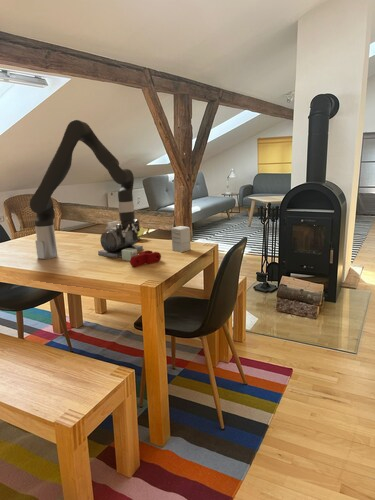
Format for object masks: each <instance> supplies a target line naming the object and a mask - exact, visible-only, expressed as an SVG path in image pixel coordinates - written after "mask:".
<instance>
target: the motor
mask: <svg viewBox="0 0 375 500" xmlns="http://www.w3.org/2000/svg"><path fill="white" fill-rule="evenodd" d="M116 224H120V220H114V221H110V222H106V227H105V228H104V229H105V230H107V231H105V232H103V233H102V234H101V236H100V244H101V247H102V249H101V250H98V251H97V254H98V255H99V256H102V257H108V258H115V259H119V258H122V250H123V249H127V248H131V249H137V252H139V251H142V250H144V248H143V247H144V246H143V245H138V244H137V242H138V240H136V241H134V240H133V235H132V233H133V232H132V231H131V230H129V231H127V233H126V234H125V236H124V237H125V244H121V240H120V237H119V236H117V232H116ZM123 231H124V230H123ZM122 235H123V234H122ZM137 239H138V236H137Z"/></svg>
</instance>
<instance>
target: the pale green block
mask: <svg viewBox="0 0 375 500" xmlns="http://www.w3.org/2000/svg"><path fill="white" fill-rule="evenodd" d="M136 255H138V251H137V249H131V248H127V249H123V250H122V257H121V260H122V261H128V262H130V260H131V258H132V257H133V256H136Z"/></svg>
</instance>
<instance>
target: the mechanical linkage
mask: <svg viewBox="0 0 375 500" xmlns="http://www.w3.org/2000/svg"><path fill="white" fill-rule="evenodd" d="M161 259H162V255H161V253H160V252H158V251H154V252H153V250H148V249H147V250H144V251H141V252H138V254H137V255H136V256H133V257H132V258H131V260H130V261H129V262H130V264H129V265H130V266H131V267H134V268H137V267H140V266H143V265H153V264H156V263H158V262H160V261H161Z"/></svg>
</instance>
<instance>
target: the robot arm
mask: <svg viewBox="0 0 375 500" xmlns="http://www.w3.org/2000/svg"><path fill="white" fill-rule="evenodd" d="M79 141H80V142H82V143H83V144H85V145H86V146H87V147H88V148H89V149H90V150H91V151H92V153H93V154H94V156H95V158H96V159H97V161H98V162H99V163H100V164H101V165H102V166H103V167H104V168H105V169H106V170H107V172H108V173H109V175H110V177H111V178H112V180H113V181H114V183H116V184H118V185H120V188H119V190H118V191H117V198H118V214H119V215H118V218H119V222H120V223H119V224H116V232H117V236H119V237H120V240H121V244H125V237H124V236H125V234H126V233H127V231H129V230H131V231H132V232H133V233H132V235H133V240H134V241H136V240H137V232H138V231H140V228H141V227H140V223H139V222H140V221H139V220H138V219H135V218H136V214H135V205H134V204H135V203H134V196H133V189H134V182H135V177H134V174H133V172H132V170H131V169H129V168H121V166H120V161H119V160H118V159H117V157H116V156H115V155H114V154H112V152H111V151H110V150H109V149H108V148H107V147H106V146H105V145H104V144H103V143H102V141H101V140H100V139H99V138H98V136H97V135H96V133H95V132H94V131H93V129H92V128H91V126H90V125H89V124H88V123H87V122H84V121H82V120H79V119H73V120H71V121H69V123H68V124H67V126H66V129H65V132H64V134H63V136H62V139H61V142H60V144H59V146H58V147H57V150H56V151H55V154H54V155H53V157H52V159H51V161H50V163H49V165H48V167H47V169H46V172H45V174H43V175H44V176H43V178H42V180H41V182H40V183H39V185H38V188H37V189H36V190H35V192H34V193H33V195H32V197H30V200H29V208H30V210H31V211H32V212H33V213H35V214H36V217H35V220H34V228H35V234H36V235H35V236H36V240H35V248H36V249H35V250H36V256H37V259H41V260H48V259H54V258H57V257H58V249H57V241H56V240H57V239H56V234H55V223H54V221H55V209H54V203H53V199H52V196H53V193H54V192H55V191H56V189H57V188H58V187H59V186H60V185H61V183H62V182H63V181H64V179H65V178H66V177H67V175H68V173H69V171H70V169H71V167H72V160H73V152H74V149H75V148H76V146H77V145H78V142H79ZM123 230H124V231H123ZM122 234H123V235H122ZM137 241H138V240H137Z"/></svg>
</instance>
